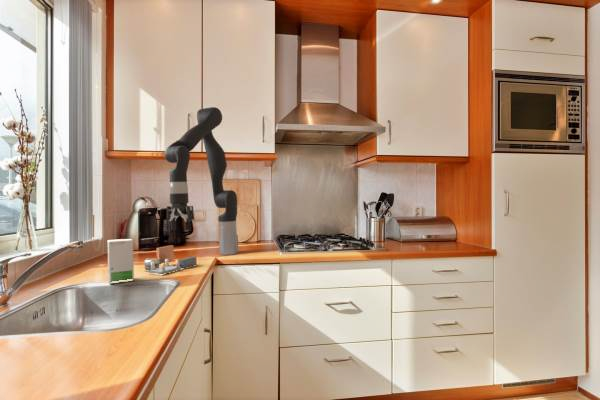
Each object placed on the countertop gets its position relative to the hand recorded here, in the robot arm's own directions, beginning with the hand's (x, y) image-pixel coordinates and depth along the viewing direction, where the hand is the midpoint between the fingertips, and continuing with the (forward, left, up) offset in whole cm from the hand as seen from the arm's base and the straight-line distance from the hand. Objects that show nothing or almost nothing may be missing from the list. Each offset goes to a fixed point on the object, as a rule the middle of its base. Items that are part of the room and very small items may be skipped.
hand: (180, 230), depth 149 cm
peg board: (+9, 0, -16) cm, 19 cm away
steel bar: (-2, +1, -17) cm, 17 cm away
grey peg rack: (+4, -9, -15) cm, 18 cm away
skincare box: (+26, -3, -17) cm, 31 cm away
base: (+8, -9, -16) cm, 20 cm away
